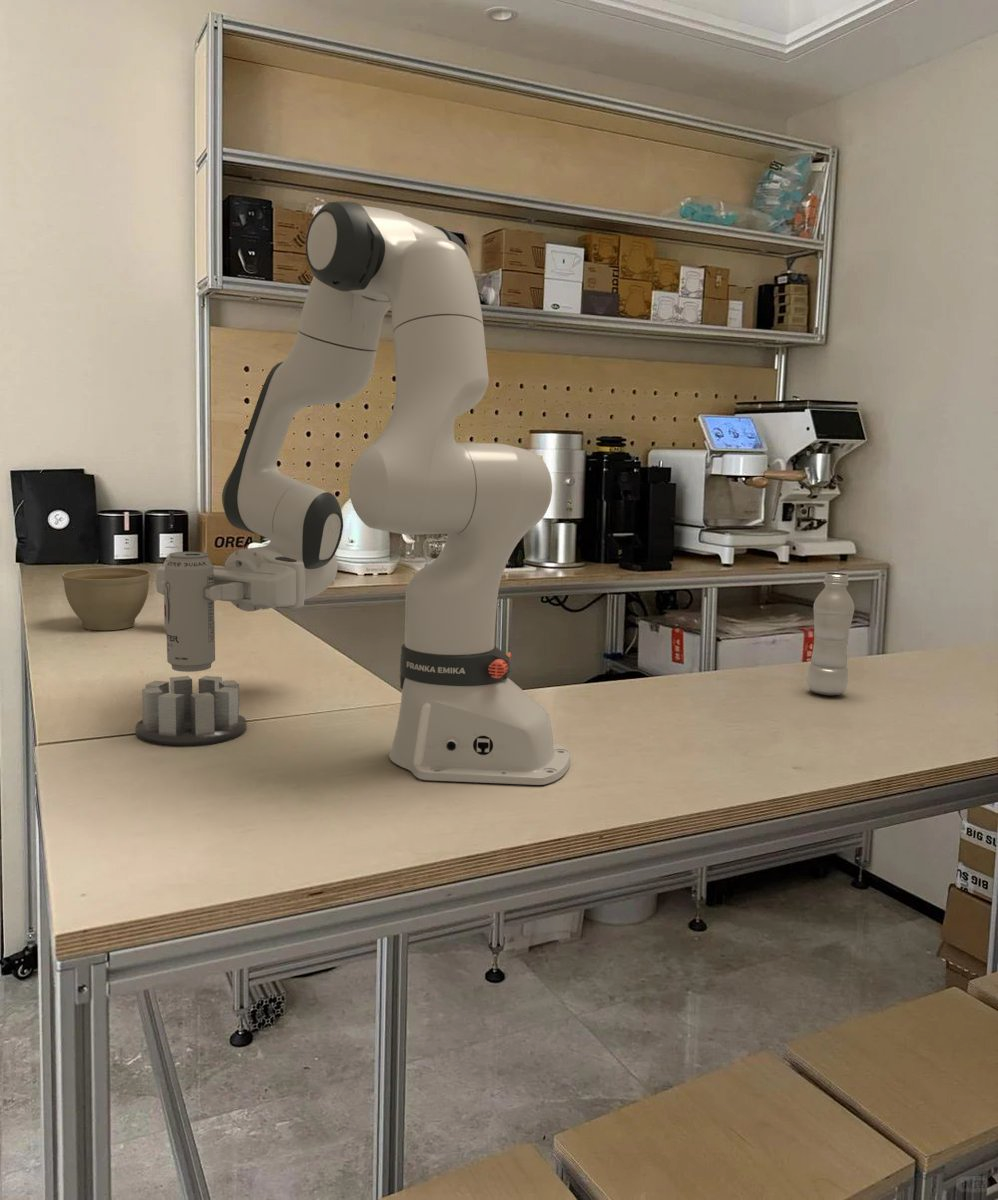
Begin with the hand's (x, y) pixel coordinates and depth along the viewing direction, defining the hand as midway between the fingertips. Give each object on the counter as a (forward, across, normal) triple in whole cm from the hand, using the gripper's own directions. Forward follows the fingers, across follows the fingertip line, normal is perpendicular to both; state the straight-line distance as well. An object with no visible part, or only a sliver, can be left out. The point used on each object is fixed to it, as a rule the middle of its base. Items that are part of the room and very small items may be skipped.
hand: (185, 591), depth 131 cm
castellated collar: (-1, 0, +19) cm, 19 cm away
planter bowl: (-47, -62, +19) cm, 80 cm away
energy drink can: (-1, 0, +10) cm, 11 cm away
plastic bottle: (-69, +72, +19) cm, 102 cm away
